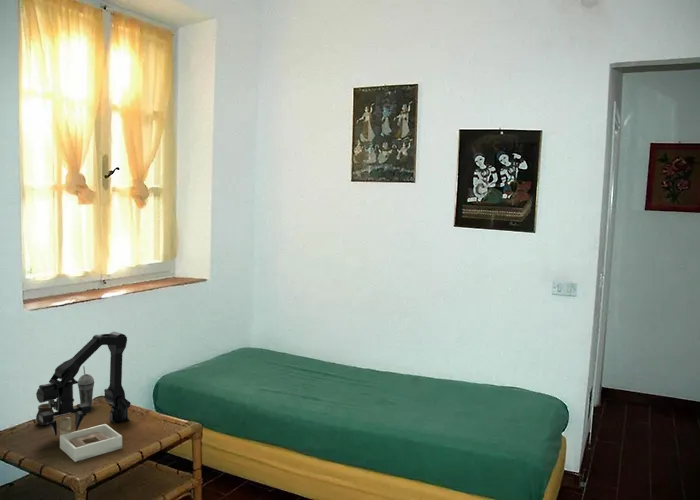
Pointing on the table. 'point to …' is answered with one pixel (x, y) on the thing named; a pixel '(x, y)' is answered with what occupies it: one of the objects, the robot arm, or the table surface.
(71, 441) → the bore plate
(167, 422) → the table surface
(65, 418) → the peg
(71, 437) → the open box
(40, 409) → the mate gourd
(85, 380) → the beverage cup
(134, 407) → the table surface
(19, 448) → the table surface
